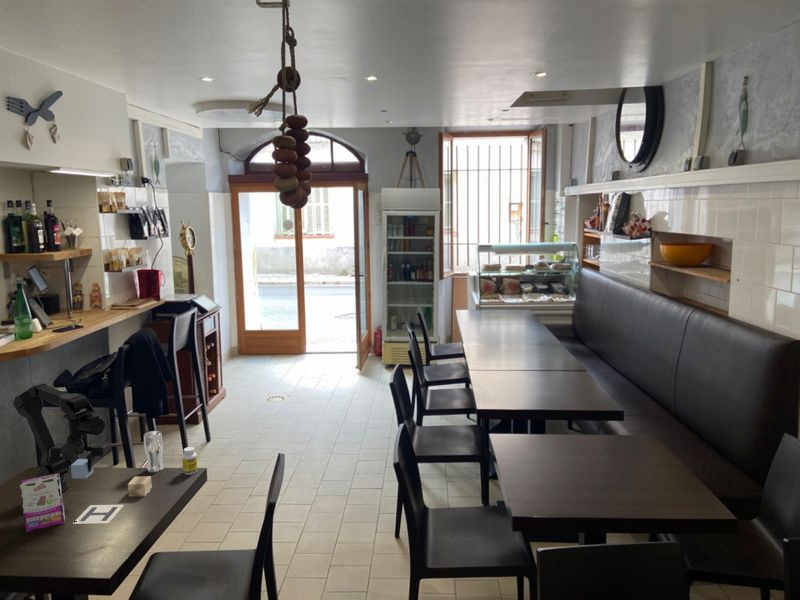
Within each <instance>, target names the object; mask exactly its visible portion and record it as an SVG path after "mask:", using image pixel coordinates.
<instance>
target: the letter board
mask: <svg viewBox="0 0 800 600" xmlns="http://www.w3.org/2000/svg"><path fill="white" fill-rule="evenodd" d="M124 506H125V504H90V505H89V506H88V507H87V508H86V509H85V510H84V511H83V512H82V513H81V514H79V516H78V517H77V518H76V519H75V520H74V521H77V522H75V523H74V521H73V524H74V525H76V524H77V525H78V524H79V525H80V524H81V525H83V524H86V525H88V524H91V525H92V524H110V522H111V521H112V519H113V518H114V517H115V516H116V515H117V514H118V513H119V512H120V511H121V509H122V508H123V507H124ZM73 524H72V525H73Z"/></svg>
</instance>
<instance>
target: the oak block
mask: <svg viewBox="0 0 800 600" xmlns="http://www.w3.org/2000/svg"><path fill="white" fill-rule="evenodd" d="M151 488H152V489H153V483H152V476H150V475H149V476H147V475H145V476H144V475H143V476H142V475H141V476H140V475H139V476H133V478H132V479H131V480H130V481H129V482H128V483H127V489H128V490H127V491H128V497H146V496H147V495H148V494H149V492H151V490H152V489H151ZM150 489H151V490H150ZM147 493H148V494H147ZM146 494H147V495H146Z"/></svg>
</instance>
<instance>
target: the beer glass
mask: <svg viewBox="0 0 800 600" xmlns="http://www.w3.org/2000/svg"><path fill="white" fill-rule="evenodd" d="M162 433H163V432H162V431H160V430H151V431H148V432H144V434H143V447H144V448H143V449H144V452H145V456H146V460H147V470H148V471H147V472H148V473H158V472H160V471H159V470H161V471H163V470H164V464H163V451H164V450H163V449H164V442H163V435H162Z"/></svg>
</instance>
